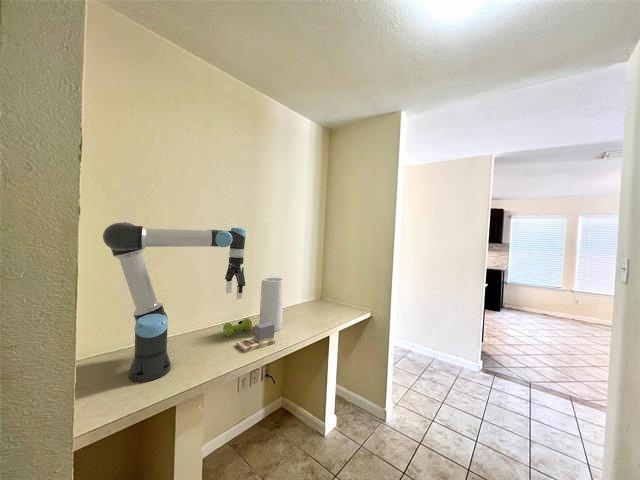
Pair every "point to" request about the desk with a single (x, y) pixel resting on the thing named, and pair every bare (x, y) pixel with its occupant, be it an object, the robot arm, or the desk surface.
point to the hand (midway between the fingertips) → (233, 295)
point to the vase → (272, 301)
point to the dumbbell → (237, 327)
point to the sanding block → (264, 331)
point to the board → (253, 344)
